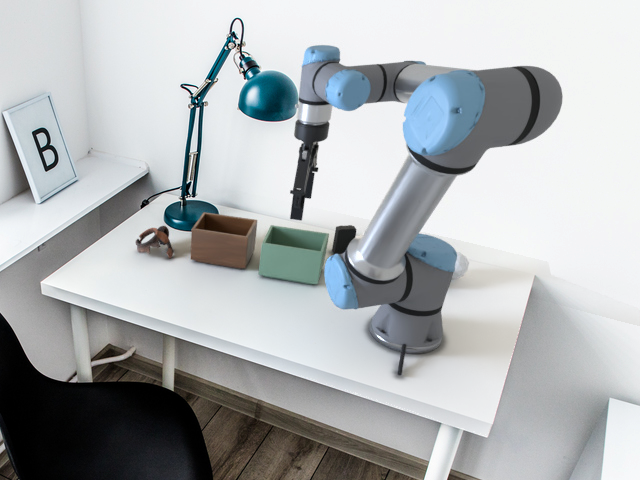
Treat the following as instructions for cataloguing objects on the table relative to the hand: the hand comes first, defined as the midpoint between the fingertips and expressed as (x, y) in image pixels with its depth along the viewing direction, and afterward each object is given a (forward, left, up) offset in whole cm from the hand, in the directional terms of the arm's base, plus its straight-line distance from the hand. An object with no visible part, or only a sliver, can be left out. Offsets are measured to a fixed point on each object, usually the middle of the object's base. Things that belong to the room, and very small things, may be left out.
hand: (300, 208), depth 159 cm
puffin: (+11, -38, -15) cm, 43 cm away
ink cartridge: (+15, -11, -19) cm, 26 cm away
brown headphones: (-1, +37, -19) cm, 42 cm away
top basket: (0, 0, -18) cm, 18 cm away
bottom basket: (+2, +19, -18) cm, 27 cm away
